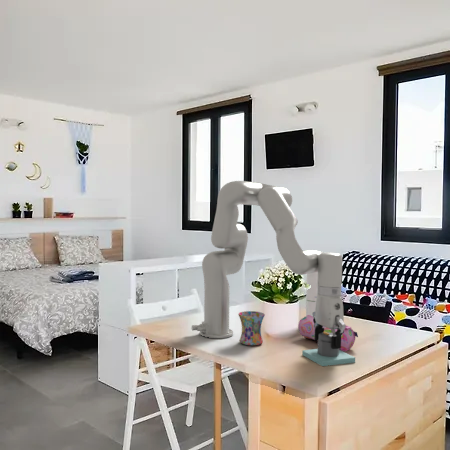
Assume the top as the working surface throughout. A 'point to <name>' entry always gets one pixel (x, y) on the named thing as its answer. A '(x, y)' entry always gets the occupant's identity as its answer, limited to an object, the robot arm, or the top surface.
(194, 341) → the top surface
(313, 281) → the cylindrical container
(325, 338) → the knob
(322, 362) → the teal peg base
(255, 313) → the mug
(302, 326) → the pencil case
